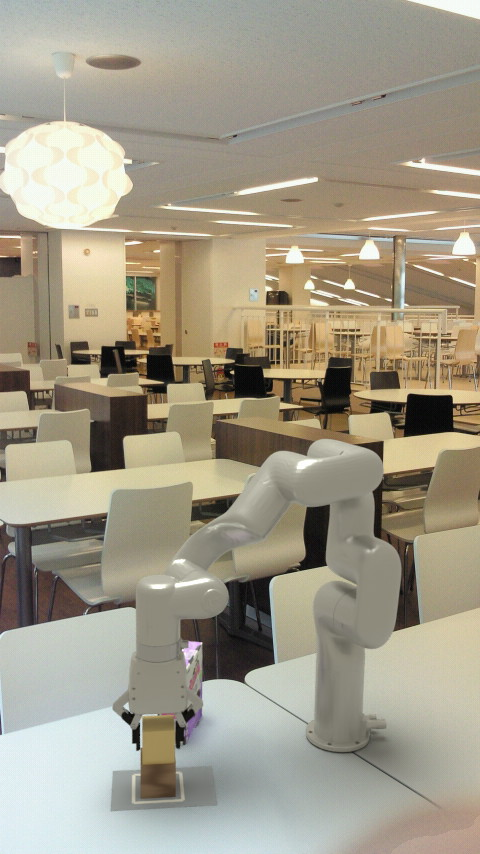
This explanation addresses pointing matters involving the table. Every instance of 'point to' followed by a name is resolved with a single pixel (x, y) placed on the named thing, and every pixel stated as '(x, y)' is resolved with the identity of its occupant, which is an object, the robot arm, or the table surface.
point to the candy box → (192, 684)
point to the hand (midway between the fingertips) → (158, 744)
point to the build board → (190, 792)
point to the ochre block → (158, 739)
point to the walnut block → (158, 780)
